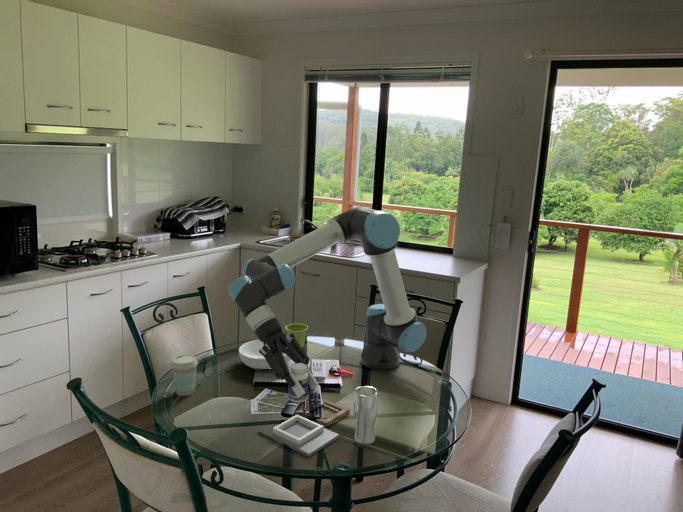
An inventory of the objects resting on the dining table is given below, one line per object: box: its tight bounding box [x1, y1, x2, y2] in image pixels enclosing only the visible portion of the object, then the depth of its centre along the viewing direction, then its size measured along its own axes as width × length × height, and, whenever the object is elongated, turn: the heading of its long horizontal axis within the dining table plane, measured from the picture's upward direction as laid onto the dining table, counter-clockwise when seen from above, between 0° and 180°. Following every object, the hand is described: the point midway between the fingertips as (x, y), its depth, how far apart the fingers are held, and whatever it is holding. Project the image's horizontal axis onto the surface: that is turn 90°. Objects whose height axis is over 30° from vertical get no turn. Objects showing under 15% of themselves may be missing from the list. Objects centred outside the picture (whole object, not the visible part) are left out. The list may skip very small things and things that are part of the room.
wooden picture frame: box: [305, 397, 350, 428], centre depth 170 cm, size 12×12×2 cm
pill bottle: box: [287, 363, 309, 403], centre depth 154 cm, size 6×6×10 cm
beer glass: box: [353, 385, 379, 446], centre depth 155 cm, size 7×7×15 cm
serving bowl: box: [238, 339, 292, 370], centre depth 205 cm, size 21×21×7 cm
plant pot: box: [284, 323, 309, 349], centre depth 224 cm, size 9×9×9 cm
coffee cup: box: [170, 354, 199, 397], centre depth 181 cm, size 9×8×12 cm
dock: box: [272, 413, 340, 458], centre depth 158 cm, size 13×20×2 cm, turn 52°
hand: (308, 390), depth 153 cm, fingers closed on pill bottle, 6 cm apart
